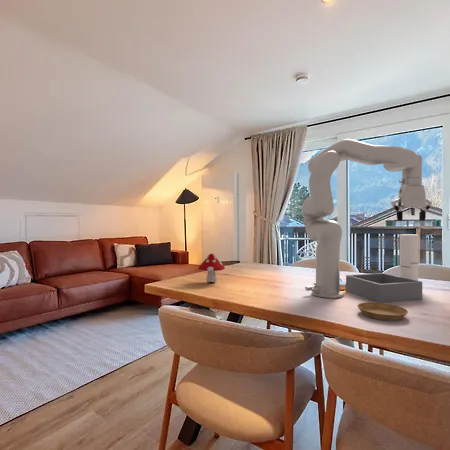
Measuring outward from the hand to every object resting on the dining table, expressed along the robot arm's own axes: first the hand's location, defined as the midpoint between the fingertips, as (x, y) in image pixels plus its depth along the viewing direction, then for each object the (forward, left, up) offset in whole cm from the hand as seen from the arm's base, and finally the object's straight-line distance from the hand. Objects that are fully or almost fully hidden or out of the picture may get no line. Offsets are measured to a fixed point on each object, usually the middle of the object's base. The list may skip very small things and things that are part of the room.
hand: (410, 220), depth 132 cm
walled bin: (-20, -5, -31) cm, 37 cm away
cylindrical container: (-2, -1, -32) cm, 32 cm away
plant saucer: (-40, -27, -32) cm, 58 cm away
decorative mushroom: (-85, +37, -32) cm, 98 cm away
